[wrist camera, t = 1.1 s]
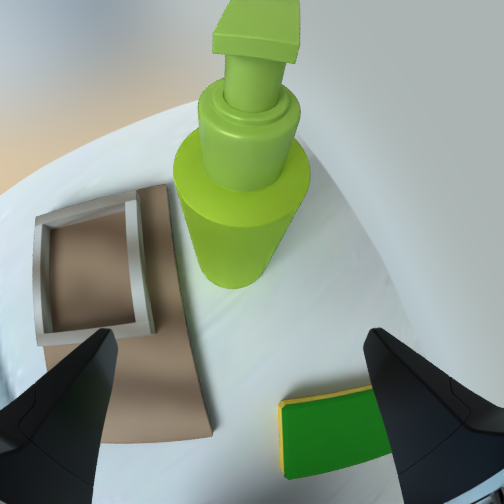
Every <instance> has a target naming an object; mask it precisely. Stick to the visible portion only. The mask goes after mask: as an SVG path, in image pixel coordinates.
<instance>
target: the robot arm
mask: <svg viewBox="0 0 504 504" xmlns="http://www.w3.org/2000/svg"><path fill="white" fill-rule="evenodd" d="M363 351H364V355H365V359H366V364H367V368H368V372H369V377H370V381H371V385H372V389H373V392H374V395H375V398H376V401H377V404H378V407H379V410H380V413H381V417H382V420H383V423H384V427H385V430H386V433H387V437H388V440H389V444H390V447H391V451H392V455H393V458H394V462H395V466H396V470H397V474H398V475H399V476H398V478H399V483H400V487H401V491H402V495H403V500H404V504H504V408H501V407H498V406H496V405H494V404H492V403H491V402H489V401H487V400H485V399H484V398H482V397H481V396H479V395H477V394H475V393H474V392H472V391H471V390H469V389H467V388H466V387H464V386H463V385H461V384H460V383H459V382H457V381H456V380H454V379H453V378H452V377H449V376H448V375H447V374H446V373H445V372H443V371H442V370H440V369H439V368H438V367H436V366H434V365H433V364H432V363H430V362H429V361H428V360H426V359H425V358H424V357H422V356H421V355H419V354H418V353H417V352H415V351H414V350H412V349H411V348H410V347H408V346H407V345H405V344H404V343H402V342H401V341H400V340H398V339H397V338H395V337H394V336H393V335H391V334H390V333H388V332H387V331H385V330H384V329H383V328H372V329H370V331H369V333H368V335H367V338H366V340H365V342H364V345H363ZM117 355H118V345H117V342H116V339H115V336H114V333H113V331H112V329H110V328H100V329H98V330H97V331H96V332H95V333H93V334H92V335H91V336H90V337H89V338H87V339H86V340H85V341H84V342H82V343H81V344H80V345H79V346H78V347H76V348H75V349H74V350H73V351H72V352H70V353H69V354H68V355H67V356H66V357H64V358H63V359H62V360H61V361H60V362H59V363H57V364H56V365H55V366H54V367H53V368H51V369H50V370H49V371H48V372H47V373H46V374H44V375H43V376H42V377H41V378H40V379H39V380H38V381H36V382H35V384H33V385H32V386H31V387H29V388H28V389H27V390H26V391H25V392H24V393H22V394H21V395H20V396H19V397H18V398H16V399H15V400H14V401H12V402H11V403H10V404H8V405H7V406H6V407H4V408H3V409H2V410H0V504H92V496H93V486H94V479H95V472H96V466H97V459H98V454H99V448H100V443H101V437H102V432H103V428H104V423H105V418H106V414H107V409H108V405H109V401H110V397H111V393H112V388H113V382H114V375H115V368H116V361H117Z"/></svg>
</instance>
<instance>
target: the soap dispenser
mask: <svg viewBox="0 0 504 504" xmlns="http://www.w3.org/2000/svg"><path fill="white" fill-rule="evenodd" d="M299 47H300V2H299V0H230V2H229V4H228V5H227V7H226V9H225V11H224V13H223V15H222V17H221V18H220V20H219V22H218V24H217V27H216V29H215V31H214V33H213V48H212V51H213V54H224V55H226V56H225V78H222V79H220V80H218V81H216V82H214V83H212V84H211V85H209V86H208V87H207V88H206V89H205V90H204V91H203V93H202V94H201V96H200V98H199V102H198V121H199V128H197V129H196V130H194V131H193V132H192V133H191V134H190V135H189V136H188V137H187V138H186V139H185V140H184V141H183V143H182V144H181V145H180V147H179V149H178V151H177V153H176V156H175V160H174V165H173V176H174V181H175V185H176V189H177V192H178V196H179V199H180V203H181V206H182V210H183V213H184V216H185V220H186V223H187V226H188V230H189V233H190V236H191V240H192V243H193V246H194V249H195V252H196V255H197V259H198V262H199V265H200V268H201V270H202V272H203V273H204V275H205V276H206V277H207V278H208V279H209V280H210V281H211V282H213V283H214V284H216V285H218V286H220V287H223V288H228V289H238V288H243V287H246V286H248V285H250V284H252V283H253V282H255V281H256V280H257V279H258V278H259V277H260V276H261V274H262V273H263V271H264V269H265V268H266V266H267V264H268V262H269V260H270V259H271V257H272V255H273V253H274V251H275V250H276V248H277V246H278V244H279V242H280V241H281V239H282V237H283V235H284V233H285V231H286V230H287V228H288V226H289V224H290V222H291V221H292V219H293V217H294V215H295V213H296V211H297V210H298V208H299V206H300V204H301V202H302V200H303V198H304V197H305V195H306V192H307V190H308V187H309V182H310V166H309V162H308V159H307V156H306V154H305V152H304V150H303V148H302V147H301V145H300V144H299V143H298V142H297V140H296V139H295V138H294V135H295V132H296V129H297V126H298V123H299V120H300V112H301V111H300V105H299V102H298V100H297V98H296V97H295V95H294V94H293V93H292V92H291V91H290V90H289V89H288V88H287V87H285V86H283V85H282V84H281V83H282V79H283V74H284V70H285V66H286V63H291V64H295V62H296V58H297V55H298V50H299Z"/></svg>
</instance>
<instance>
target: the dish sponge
mask: <svg viewBox="0 0 504 504" xmlns="http://www.w3.org/2000/svg"><path fill="white" fill-rule="evenodd" d="M278 424H279V447H280V469H281V471H282V473H283V474H284V477H285V478H287V479H289V480H290V479H296V478H302V477H307V476H312V475H317V474H322V473H326V472H330V471H335V470H339V469H342V468H346V467H350V466H353V465H357V464H360V463H363V462H366V461H369V460H372V459H375V458H378V457H381V456H384V455H387V454H389V453H392V451H391V447H390V444H389V440H388V437H387V433H386V430H385V427H384V423H383V420H382V417H381V413H380V410H379V407H378V404H377V401H376V398H375V395H374V392H373V389H372V385H368V386H364V387H359V388H355V389H350V390H345V391H340V392H335V393H329V394H324V395H318V396H311V397H305V398H297V399H290V400H281V401H280V403H279V404H278Z"/></svg>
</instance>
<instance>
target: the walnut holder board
mask: <svg viewBox="0 0 504 504" xmlns="http://www.w3.org/2000/svg"><path fill="white" fill-rule="evenodd" d="M33 308H34V321H35V331H36V340H37V346H43V348H44V355H45V361H46V367H47V372H48V371H49V370H50V369H51V368H53V367H54V366H55V365H56V364H57V363H59V362H60V361H61V360H62V359H63V358H64V357H66V356H67V355H68V354H69V353H70V352H72V351H73V350H74V349H75V348H76V347H78V346H79V345H80V344H81V343H82V342H84V341H85V340H86V339H87V338H89V337H90V336H91V335H92V334H93V333H95V332H96V331H97V330H98V329H100V328H110V329H112V331H113V333H114V336H115V339H116V342H117V345H118V355H117V361H116V368H115V375H114V382H113V388H112V393H111V397H110V401H109V405H108V409H107V414H106V418H105V423H104V428H103V432H102V437H101V443H112V444H132V443H157V442H171V441H182V440H191V439H199V438H206V437H212V436H213V431H212V428H211V424H210V420H209V417H208V413H207V409H206V406H205V402H204V398H203V394H202V390H201V386H200V382H199V378H198V373H197V369H196V365H195V360H194V356H193V351H192V346H191V342H190V337H189V332H188V327H187V322H186V316H185V311H184V305H183V300H182V294H181V288H180V282H179V276H178V269H177V263H176V256H175V249H174V241H173V233H172V225H171V217H170V208H169V198H168V189H167V186H166V184H162V185H157V186H152V187H148V188H143V189H138V190H132V191H128V192H123V193H119V194H115V195H111V196H107V197H103V198H99V199H95V200H91V201H88V202H84V203H80V204H77V205H73V206H70V207H66V208H63V209H59V210H56V211H53V212H50V213H46V214H43V215H40V216H37V217H36V219H35V230H34V243H33Z"/></svg>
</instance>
